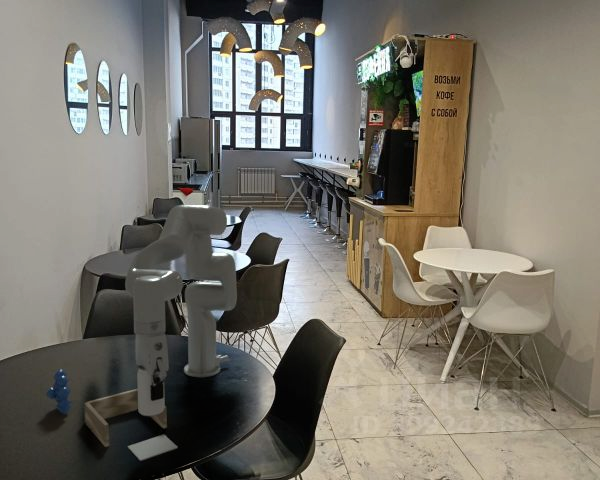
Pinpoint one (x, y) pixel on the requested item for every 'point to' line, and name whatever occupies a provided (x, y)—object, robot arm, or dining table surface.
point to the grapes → (60, 391)
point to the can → (147, 395)
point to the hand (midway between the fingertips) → (151, 393)
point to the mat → (152, 447)
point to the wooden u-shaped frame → (114, 412)
